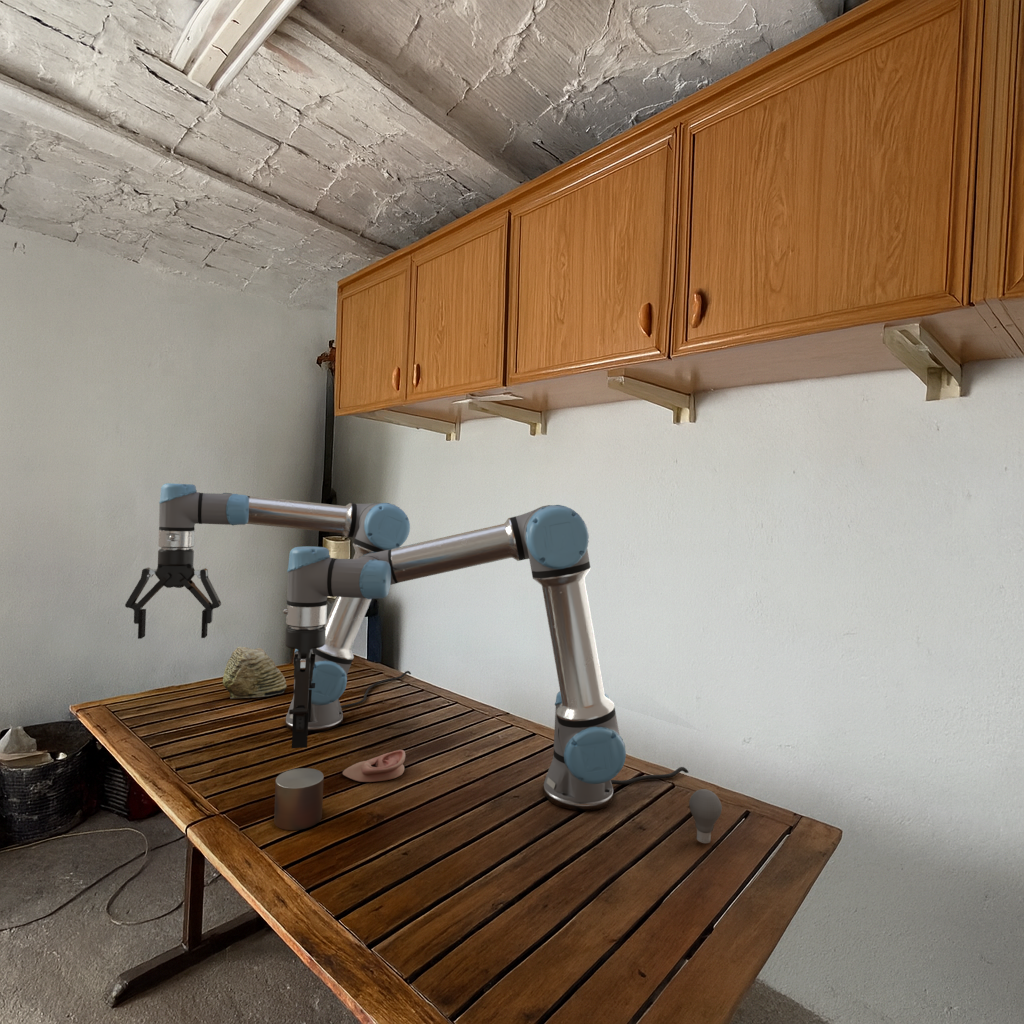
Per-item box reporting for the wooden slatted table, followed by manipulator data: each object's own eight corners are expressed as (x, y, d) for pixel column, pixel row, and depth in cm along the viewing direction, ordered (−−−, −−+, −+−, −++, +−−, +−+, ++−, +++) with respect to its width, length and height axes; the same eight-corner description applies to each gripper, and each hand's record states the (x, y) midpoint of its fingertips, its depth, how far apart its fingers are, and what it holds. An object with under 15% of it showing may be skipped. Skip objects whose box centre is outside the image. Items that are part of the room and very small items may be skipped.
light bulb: (682, 833, 125) (685, 783, 125) (712, 833, 125) (714, 783, 125) (694, 850, 119) (696, 797, 119) (725, 850, 119) (727, 798, 119)
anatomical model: (336, 761, 142) (359, 742, 153) (336, 778, 142) (358, 758, 153) (392, 768, 139) (411, 749, 151) (391, 786, 139) (410, 765, 151)
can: (290, 835, 118) (291, 792, 118) (265, 818, 124) (266, 777, 124) (331, 818, 125) (332, 777, 125) (305, 803, 131) (307, 764, 131)
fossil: (218, 695, 195) (220, 647, 195) (278, 685, 208) (279, 640, 207) (228, 703, 189) (230, 653, 188) (289, 692, 201) (290, 645, 201)
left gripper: (111, 548, 144) (108, 641, 144) (229, 550, 150) (226, 640, 150) (123, 545, 151) (120, 634, 152) (235, 548, 157) (232, 633, 158)
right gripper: (290, 614, 135) (286, 713, 135) (279, 640, 111) (274, 760, 111) (327, 614, 137) (323, 711, 137) (324, 640, 113) (319, 758, 113)
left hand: (173, 637), depth 151 cm, fingers open, 13 cm apart
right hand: (301, 733), depth 124 cm, fingers open, 13 cm apart
